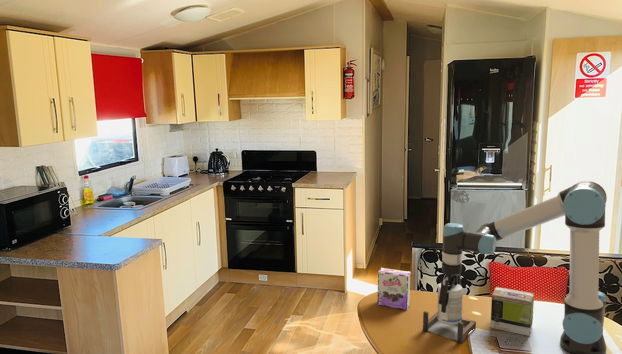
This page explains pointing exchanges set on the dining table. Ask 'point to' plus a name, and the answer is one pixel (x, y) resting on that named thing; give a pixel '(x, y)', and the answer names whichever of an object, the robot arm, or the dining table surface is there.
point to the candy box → (394, 288)
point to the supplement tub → (452, 305)
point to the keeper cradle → (448, 328)
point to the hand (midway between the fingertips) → (449, 314)
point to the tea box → (512, 310)
